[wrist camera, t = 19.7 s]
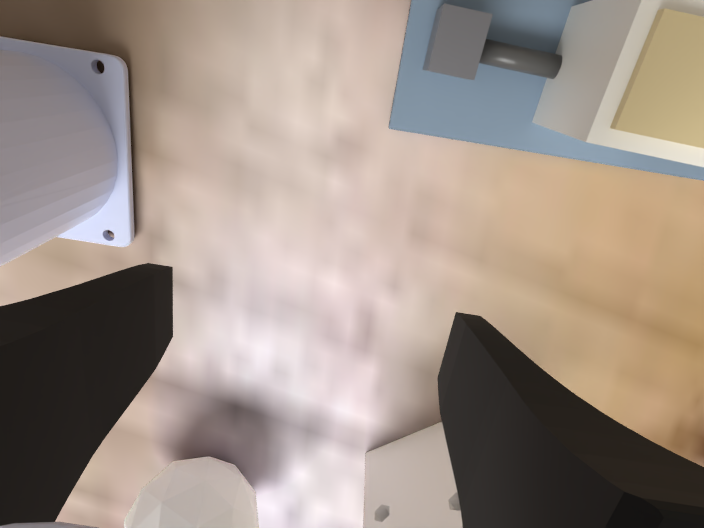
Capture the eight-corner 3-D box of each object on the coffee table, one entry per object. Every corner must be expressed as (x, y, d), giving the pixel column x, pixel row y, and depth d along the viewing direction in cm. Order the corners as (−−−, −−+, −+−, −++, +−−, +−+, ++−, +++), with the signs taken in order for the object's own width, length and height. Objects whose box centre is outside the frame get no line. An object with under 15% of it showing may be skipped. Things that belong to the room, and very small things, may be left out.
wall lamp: (415, 97, 18) (430, 109, 13) (444, -22, 16) (473, -60, 11) (631, 143, 18) (726, 172, 13) (680, 30, 16) (808, 16, 11)
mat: (388, 126, 19) (389, 128, 18) (425, -81, 16) (427, -86, 15) (701, 178, 19) (710, 181, 18) (791, -18, 16) (806, -21, 16)
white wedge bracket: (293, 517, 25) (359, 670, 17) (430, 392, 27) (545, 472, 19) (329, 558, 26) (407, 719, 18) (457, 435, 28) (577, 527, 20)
